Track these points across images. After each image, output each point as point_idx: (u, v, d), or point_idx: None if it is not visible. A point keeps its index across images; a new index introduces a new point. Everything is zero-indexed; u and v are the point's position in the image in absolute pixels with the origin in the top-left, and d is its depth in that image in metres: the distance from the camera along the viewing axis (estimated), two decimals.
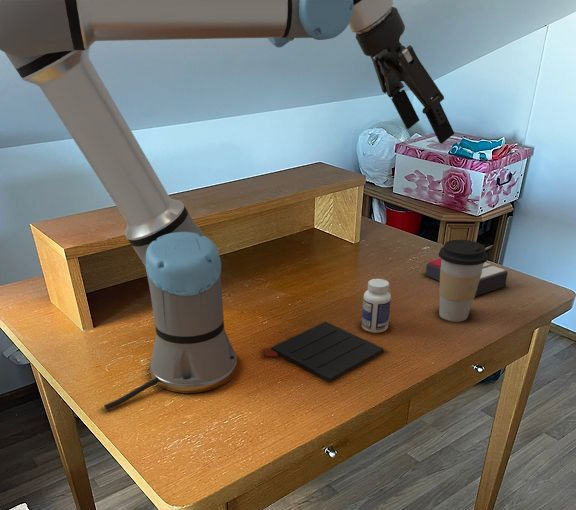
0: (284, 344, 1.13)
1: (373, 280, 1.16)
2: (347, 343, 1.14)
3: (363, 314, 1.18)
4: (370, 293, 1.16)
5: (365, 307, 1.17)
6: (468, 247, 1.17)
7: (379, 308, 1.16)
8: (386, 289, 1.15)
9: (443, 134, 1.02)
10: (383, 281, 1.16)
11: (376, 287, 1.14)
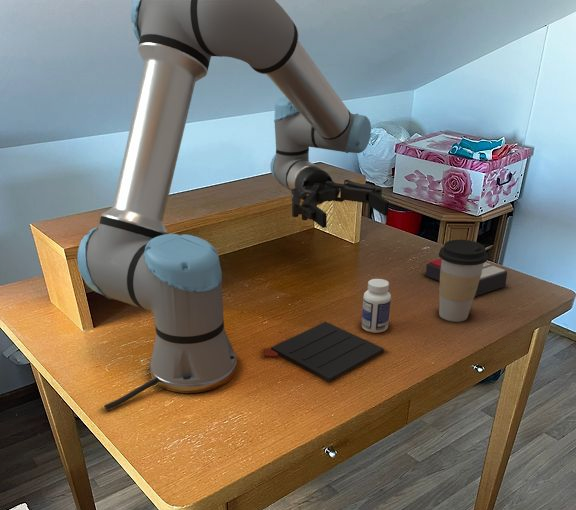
0: (284, 344, 1.13)
1: (373, 280, 1.16)
2: (347, 343, 1.14)
3: (363, 314, 1.18)
4: (370, 293, 1.16)
5: (365, 307, 1.17)
6: (468, 247, 1.17)
7: (379, 308, 1.16)
8: (386, 289, 1.15)
9: None
10: (383, 281, 1.16)
11: (376, 287, 1.14)
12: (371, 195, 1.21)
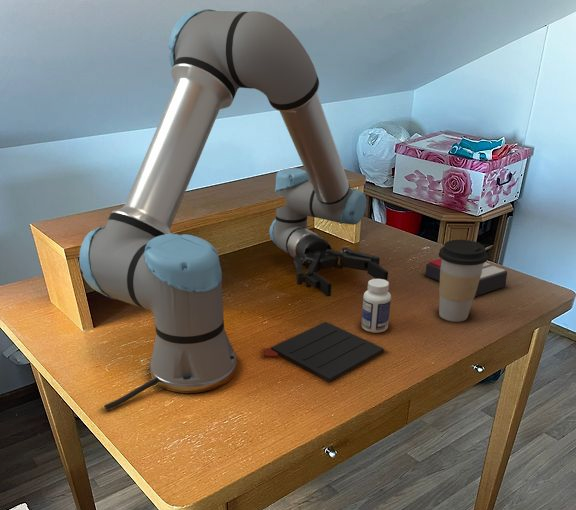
0: (284, 344, 1.13)
1: (373, 280, 1.16)
2: (347, 343, 1.14)
3: (363, 314, 1.18)
4: (370, 293, 1.16)
5: (365, 307, 1.17)
6: (468, 247, 1.17)
7: (379, 308, 1.16)
8: (386, 289, 1.15)
9: None
10: (383, 281, 1.16)
11: (376, 287, 1.14)
12: (370, 264, 1.29)
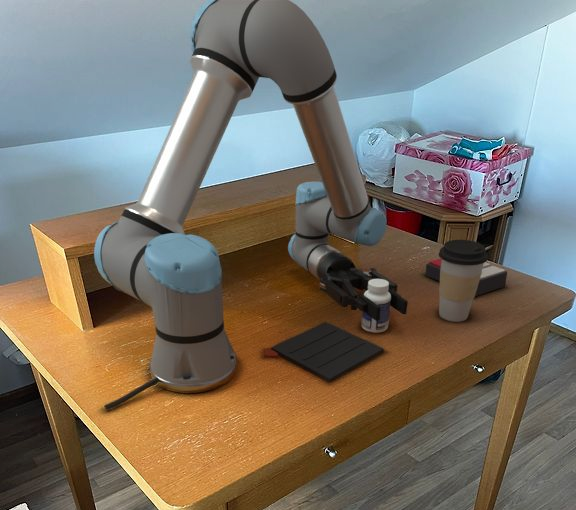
0: (284, 344, 1.13)
1: (373, 280, 1.16)
2: (347, 343, 1.14)
3: (363, 314, 1.18)
4: (370, 293, 1.16)
5: None
6: (468, 247, 1.17)
7: None
8: (386, 289, 1.15)
9: None
10: (383, 281, 1.16)
11: (376, 287, 1.14)
12: None
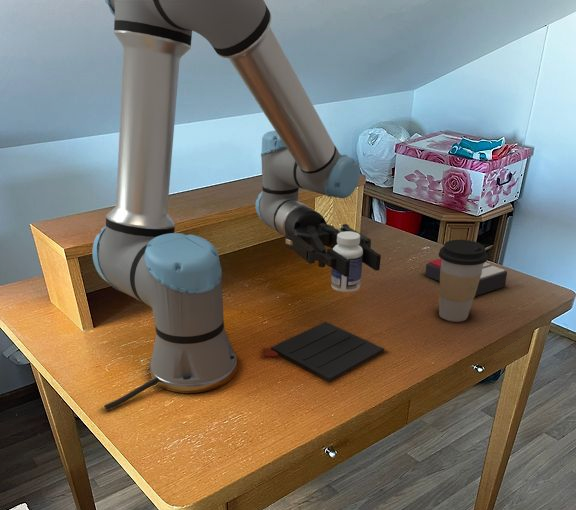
0: (284, 344, 1.13)
1: (343, 232, 1.04)
2: (347, 343, 1.14)
3: (332, 271, 1.06)
4: (339, 247, 1.03)
5: None
6: (468, 247, 1.17)
7: (350, 263, 1.03)
8: (357, 242, 1.03)
9: None
10: (354, 233, 1.04)
11: (345, 239, 1.02)
12: None
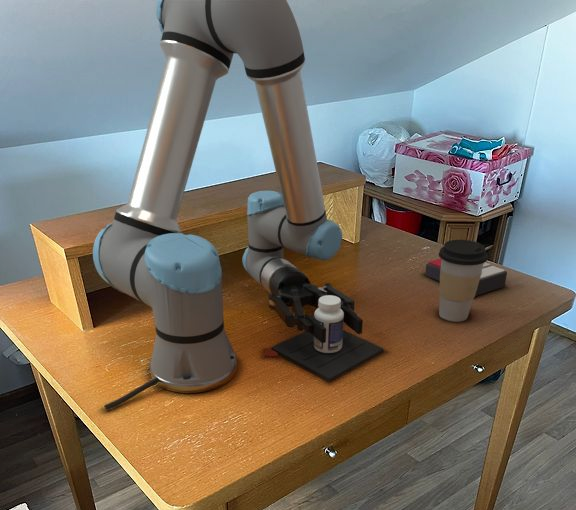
0: (284, 344, 1.13)
1: (324, 297, 1.08)
2: (347, 343, 1.14)
3: None
4: (321, 311, 1.07)
5: None
6: (468, 247, 1.17)
7: (331, 327, 1.07)
8: (337, 307, 1.06)
9: None
10: (335, 298, 1.07)
11: (326, 304, 1.05)
12: (343, 309, 1.10)
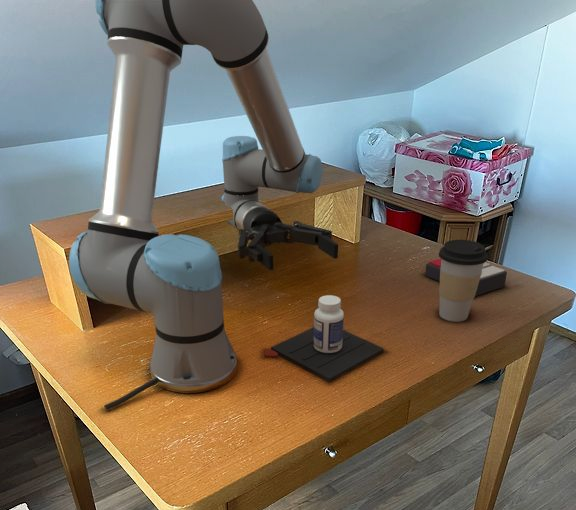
0: (284, 344, 1.13)
1: (324, 297, 1.08)
2: (347, 343, 1.14)
3: (314, 333, 1.10)
4: (321, 311, 1.07)
5: (316, 325, 1.08)
6: (468, 247, 1.17)
7: (331, 327, 1.07)
8: (337, 307, 1.06)
9: None
10: (335, 298, 1.07)
11: (326, 304, 1.05)
12: (320, 237, 1.18)
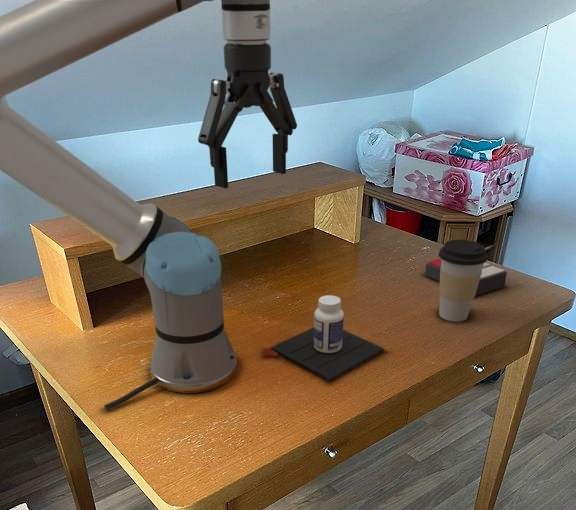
0: (284, 344, 1.13)
1: (324, 297, 1.08)
2: (347, 343, 1.14)
3: (314, 333, 1.10)
4: (321, 311, 1.07)
5: (316, 325, 1.08)
6: (468, 247, 1.17)
7: (331, 327, 1.07)
8: (337, 307, 1.06)
9: (218, 179, 1.02)
10: (335, 298, 1.07)
11: (326, 304, 1.05)
12: None
